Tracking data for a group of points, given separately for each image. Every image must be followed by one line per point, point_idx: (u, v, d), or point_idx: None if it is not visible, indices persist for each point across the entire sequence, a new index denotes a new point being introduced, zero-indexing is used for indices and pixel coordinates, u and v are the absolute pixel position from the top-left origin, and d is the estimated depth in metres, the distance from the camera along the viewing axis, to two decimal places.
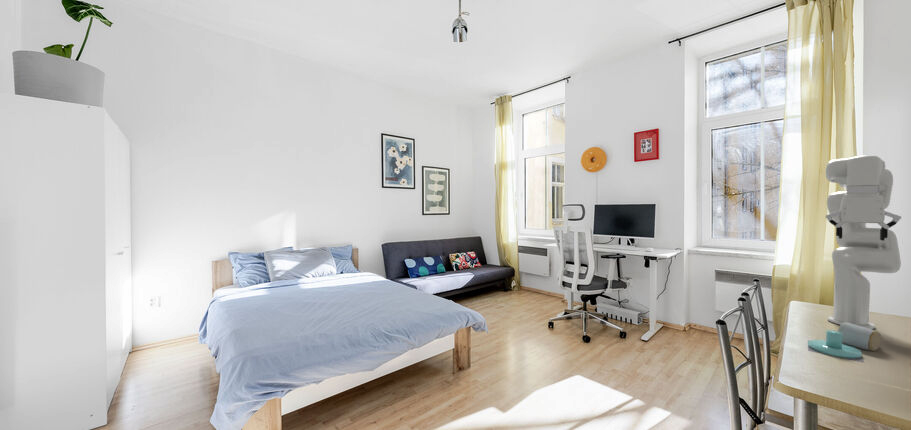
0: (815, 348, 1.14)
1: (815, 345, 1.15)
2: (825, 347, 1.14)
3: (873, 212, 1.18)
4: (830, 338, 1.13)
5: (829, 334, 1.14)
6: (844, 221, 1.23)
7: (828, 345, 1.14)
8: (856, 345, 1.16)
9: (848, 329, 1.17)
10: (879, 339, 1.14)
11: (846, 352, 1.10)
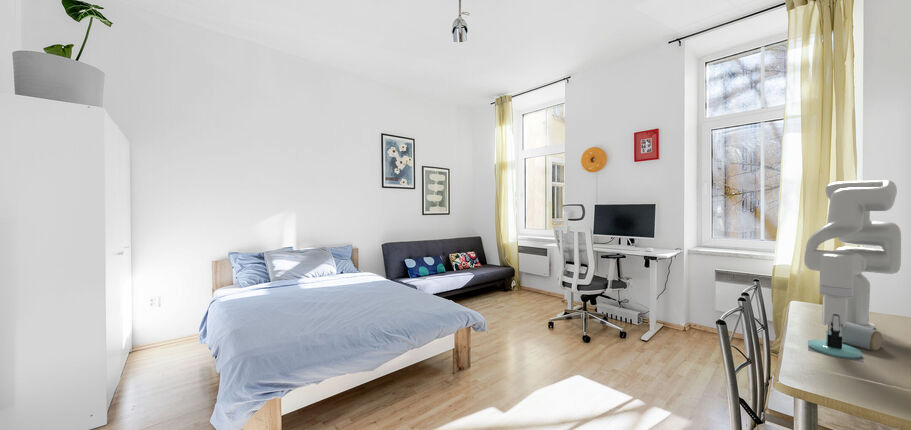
0: (815, 348, 1.14)
1: (815, 345, 1.15)
2: (825, 347, 1.14)
3: None
4: None
5: None
6: (843, 327, 1.10)
7: None
8: (858, 345, 1.16)
9: (850, 329, 1.18)
10: (881, 339, 1.14)
11: (846, 352, 1.10)
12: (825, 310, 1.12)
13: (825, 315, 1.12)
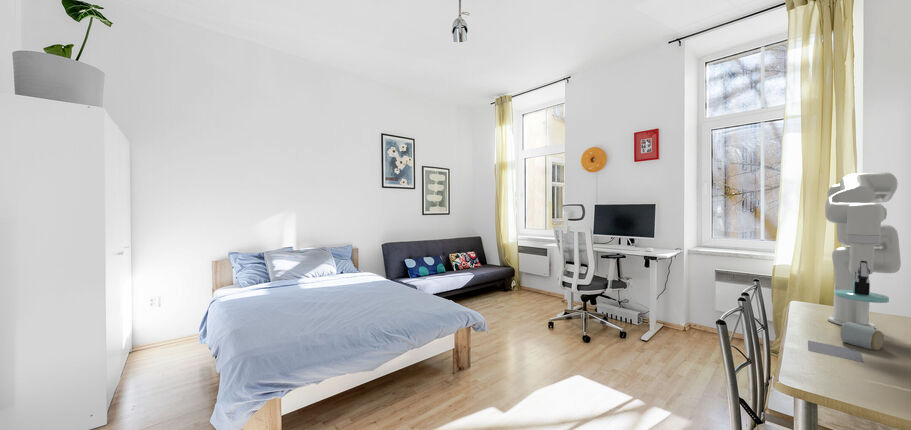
0: (842, 295, 1.17)
1: (842, 293, 1.19)
2: (852, 294, 1.17)
3: None
4: None
5: None
6: (871, 273, 1.13)
7: None
8: (859, 344, 1.16)
9: (851, 328, 1.18)
10: (882, 338, 1.14)
11: (874, 297, 1.13)
12: (853, 258, 1.15)
13: (853, 262, 1.15)
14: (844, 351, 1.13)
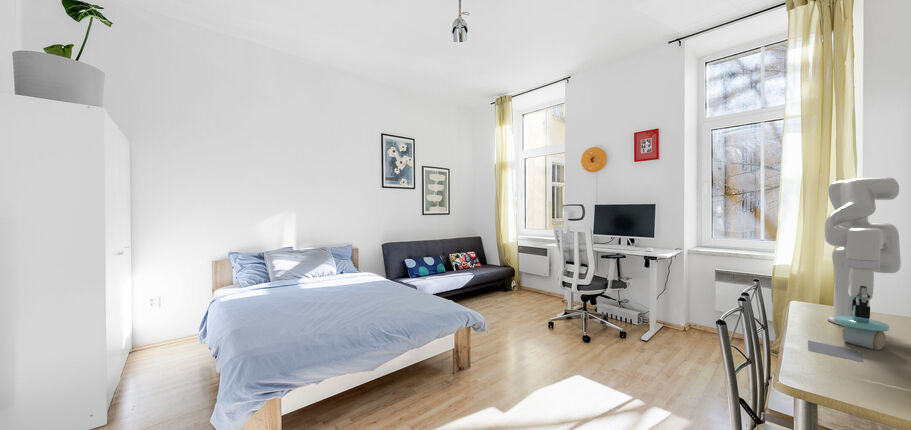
0: (843, 322, 1.18)
1: (843, 320, 1.19)
2: (853, 321, 1.17)
3: None
4: None
5: None
6: None
7: (856, 319, 1.18)
8: (861, 344, 1.16)
9: (853, 328, 1.18)
10: (884, 338, 1.15)
11: (874, 325, 1.13)
12: (852, 282, 1.15)
13: (852, 287, 1.15)
14: (844, 351, 1.13)
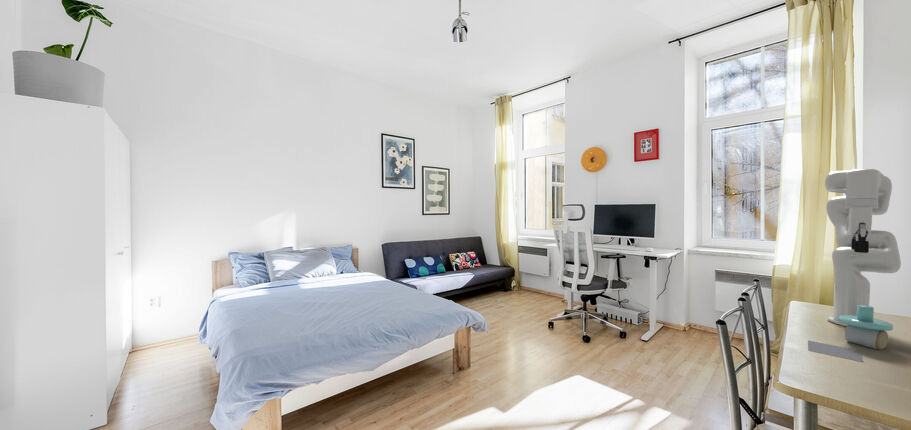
0: (846, 321, 1.19)
1: (846, 319, 1.20)
2: (856, 320, 1.18)
3: None
4: (861, 312, 1.18)
5: (860, 308, 1.18)
6: (869, 234, 1.19)
7: (859, 319, 1.18)
8: (863, 344, 1.17)
9: (855, 328, 1.18)
10: (886, 338, 1.15)
11: (877, 325, 1.14)
12: (852, 220, 1.21)
13: (852, 225, 1.21)
14: (844, 351, 1.13)
